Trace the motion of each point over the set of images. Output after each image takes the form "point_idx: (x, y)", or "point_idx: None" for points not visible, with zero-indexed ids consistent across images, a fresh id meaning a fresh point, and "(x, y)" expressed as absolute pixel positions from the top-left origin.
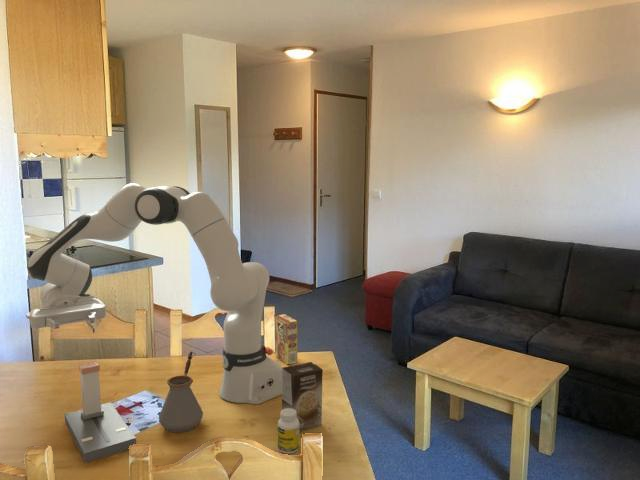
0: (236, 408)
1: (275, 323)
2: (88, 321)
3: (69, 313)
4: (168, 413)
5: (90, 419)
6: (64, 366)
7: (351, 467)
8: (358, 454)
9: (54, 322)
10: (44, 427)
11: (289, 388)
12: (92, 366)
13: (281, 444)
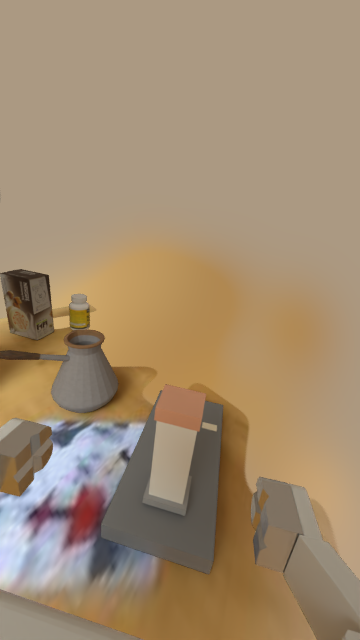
0: (9, 379)
1: None
2: (21, 491)
3: (93, 625)
4: (112, 371)
5: None
6: None
7: None
8: (66, 307)
9: (297, 496)
10: (258, 596)
11: (45, 292)
12: (180, 388)
13: (89, 320)
